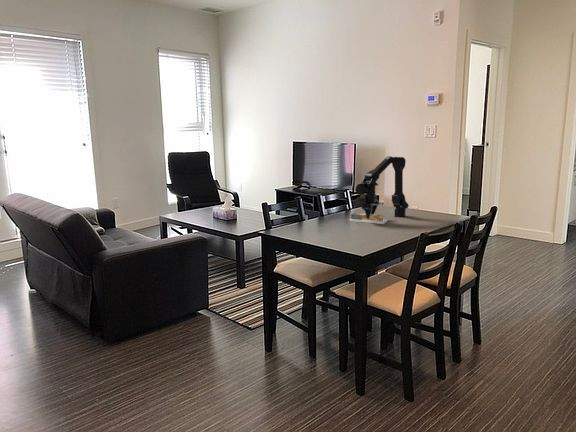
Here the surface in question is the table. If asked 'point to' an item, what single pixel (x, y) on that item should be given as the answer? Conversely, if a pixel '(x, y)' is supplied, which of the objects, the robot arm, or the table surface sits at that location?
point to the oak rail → (371, 217)
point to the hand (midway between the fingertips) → (370, 217)
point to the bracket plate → (358, 219)
